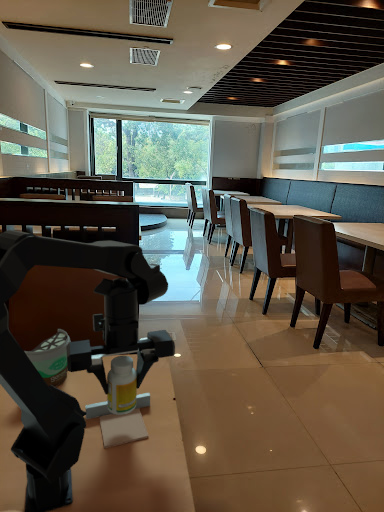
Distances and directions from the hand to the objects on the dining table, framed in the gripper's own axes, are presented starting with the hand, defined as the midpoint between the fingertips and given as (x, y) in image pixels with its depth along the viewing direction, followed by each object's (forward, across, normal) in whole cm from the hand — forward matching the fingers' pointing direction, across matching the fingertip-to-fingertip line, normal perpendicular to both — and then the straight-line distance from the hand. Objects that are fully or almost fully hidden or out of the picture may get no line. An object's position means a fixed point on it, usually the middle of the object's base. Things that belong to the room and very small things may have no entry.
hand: (122, 390), depth 64 cm
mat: (+8, 0, 0) cm, 8 cm away
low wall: (+8, 0, -5) cm, 10 cm away
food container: (+9, +12, -20) cm, 25 cm away
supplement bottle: (+4, 0, 0) cm, 4 cm away
